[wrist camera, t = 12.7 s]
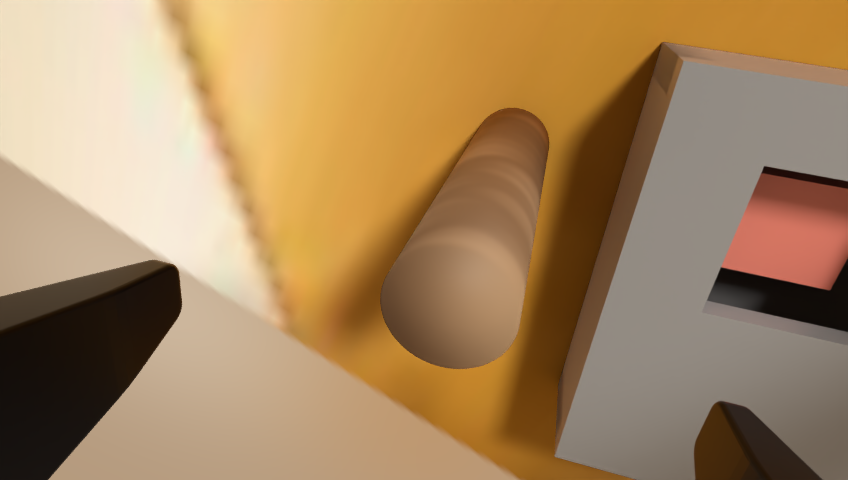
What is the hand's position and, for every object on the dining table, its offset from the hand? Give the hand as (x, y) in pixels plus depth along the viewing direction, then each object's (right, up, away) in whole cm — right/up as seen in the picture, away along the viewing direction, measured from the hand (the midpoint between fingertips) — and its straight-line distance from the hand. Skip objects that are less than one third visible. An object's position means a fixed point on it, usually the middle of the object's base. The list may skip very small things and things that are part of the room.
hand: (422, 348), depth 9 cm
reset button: (+12, +3, +9) cm, 15 cm away
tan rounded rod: (+3, +5, +11) cm, 12 cm away
